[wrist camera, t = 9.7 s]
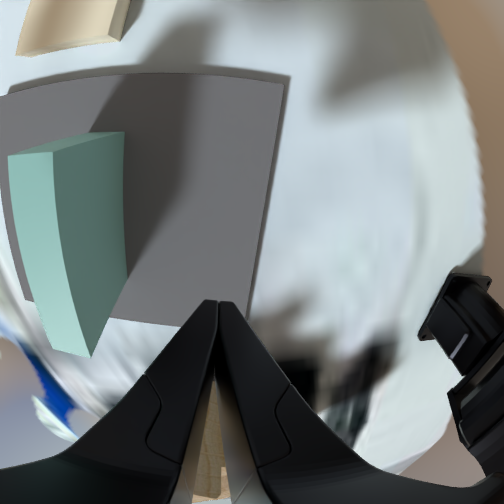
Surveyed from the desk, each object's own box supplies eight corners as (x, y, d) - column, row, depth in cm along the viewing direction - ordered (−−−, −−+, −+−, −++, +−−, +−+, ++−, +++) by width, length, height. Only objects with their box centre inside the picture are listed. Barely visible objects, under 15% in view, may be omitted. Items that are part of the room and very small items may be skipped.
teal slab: (124, 131, 11) (53, 151, 6) (127, 278, 15) (90, 358, 9) (88, 132, 11) (7, 155, 6) (97, 275, 14) (52, 348, 9)
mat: (282, 86, 11) (284, 84, 11) (242, 325, 18) (242, 332, 17) (5, 96, 9) (-1, 96, 9) (29, 295, 16) (25, 299, 15)
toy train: (170, 359, 19) (154, 486, 10) (319, 416, 25) (340, 499, 16) (141, 388, 21) (123, 492, 12) (282, 436, 27) (294, 512, 18)
